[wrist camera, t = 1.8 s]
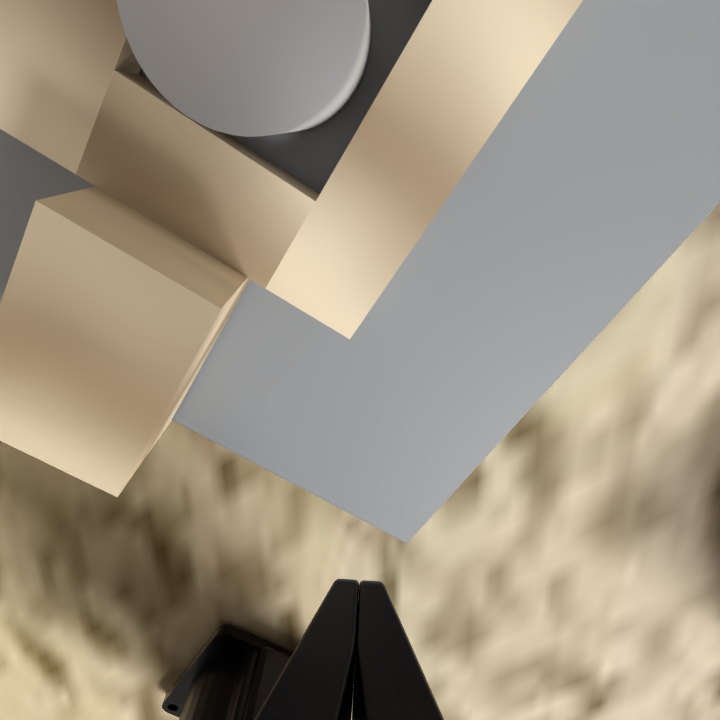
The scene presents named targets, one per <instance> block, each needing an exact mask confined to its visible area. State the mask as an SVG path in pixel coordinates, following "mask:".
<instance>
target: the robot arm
mask: <svg viewBox="0 0 720 720" xmlns="http://www.w3.org/2000/svg"><path fill="white" fill-rule="evenodd" d="M358 596H359V599H358ZM354 668H355V669H354ZM353 684H354V688H353ZM352 700H353V708H352ZM162 708H163V709H164V710H165V711H166V712H168V713H170V714H172V715H175V716H177V717H180V718H179V720H351V713H352V720H444V718H443V716H442V714H441V712H440V709H439V707H438V705H437V703H436V700H435V698H434V696H433V694H432V691H431V689H430V687H429V685H428V682H427V680H426V678H425V676H424V673H423V671H422V669H421V667H420V664H419V662H418V660H417V658H416V655H415V653H414V651H413V649H412V646H411V644H410V642H409V639H408V637H407V635H406V633H405V630H404V628H403V626H402V624H401V621H400V619H399V617H398V615H397V612H396V610H395V608H394V606H393V603H392V601H391V599H390V597H389V594H388V592H387V590H386V588H385V586H384V584H383V583H382V582H379V581H365V580H364V581H361V582H360V584H359V583H358V581H357V580H350V579H337V580H336V581H335V582H334V583H333V585H332V587H331V588H330V590H329V592H328V593H327V595H326V597H325V599H324V600H323V602H322V604H321V606H320V607H319V609H318V611H317V612H316V614H315V616H314V618H313V619H312V621H311V623H310V625H309V626H308V628H307V630H306V631H305V633H304V635H303V637H302V638H301V640H300V642H299V644H298V645H297V647H296V649H295V650H294V652H293V653H291V652H289V651H287V650H284V649H282V648H280V647H278V646H276V645H273V644H271V643H269V642H267V641H265V640H262V639H260V638H258V637H256V636H254V635H251V634H249V633H247V632H245V631H242V630H240V629H238V628H236V627H234V626H230V625H222V626H220V627H219V628H217V630H216V631H215V632H214V634H213V635H212V636H211V637H210V639H209V640H208V641H207V643H206V644H205V645H204V646H203V648H202V649H201V650H200V652H199V653H198V654H197V656H196V657H195V658H194V659H193V661H192V662H191V663H190V665H189V666H188V667H187V668H186V670H185V671H184V672H183V674H182V675H181V676H180V678H179V679H178V680H177V681H176V683H175V684H174V685H173V687H172V688H171V689H170V690H169V692H168V693H167V694H166V697H165V699H164V702H163V705H162Z"/></svg>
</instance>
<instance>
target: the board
mask: <svg viewBox="0 0 720 720" xmlns="http://www.w3.org/2000/svg"><path fill="white" fill-rule="evenodd" d="M431 2H432V0H117V5H118V10H119V15H120V18H121V22H122V25H123V29H124V32H125V35H126V37H127V39H128V42H129V44H130V47H131V49H132V51H133V53H134V55H135V57H136V59H137V61H138V63H139V64H140V66H141V69H140V72H139V75H140V76H142V77H143V78H145V79H146V80H148V81H149V82H151V83H152V84H153V85H154V86H155V87H156V88H157V90H158V91H159V92H160V93H161V94H162V95H163V96H164V97H165V98H166V99H167V100H168V101H169V102H170V103H171V104H172V105H173V106H174V107H175V108H177V109H178V110H179V111H181V112H182V113H183V114H185V115H186V116H187V117H189V118H191V119H193V120H194V121H196V122H198V123H200V124H201V125H203V126H206V127H208V128H211V129H213V130H215V131H219V132H222V133H226V134H230V135H231V136H233V137H234V138H236V139H237V140H239V141H241V142H242V143H244V144H245V145H247V146H248V147H250V148H251V149H253V150H254V151H256V152H257V153H259V154H260V155H262V156H263V157H265V158H266V159H268V160H269V161H271V162H272V163H274V164H275V165H277V166H279V167H280V168H282V169H283V170H285V171H286V172H288V173H289V174H291V175H292V176H294V177H295V178H297V179H298V180H300V181H301V182H303V183H304V184H306V185H307V186H309V187H310V188H312V189H313V190H315V191H316V192H318V193H321V192H322V190H323V188H324V186H325V185H326V183H327V181H328V179H329V178H330V176H331V174H332V173H333V171H334V169H335V167H336V166H337V164H338V162H339V160H340V159H341V157H342V155H343V154H344V152H345V150H346V148H347V147H348V145H349V143H350V141H351V140H352V138H353V136H354V135H355V133H356V131H357V129H358V128H359V126H360V124H361V122H362V121H363V119H364V117H365V116H366V114H367V112H368V110H369V109H370V107H371V105H372V103H373V102H374V100H375V98H376V97H377V95H378V93H379V91H380V90H381V88H382V86H383V84H384V83H385V81H386V79H387V78H388V76H389V74H390V72H391V71H392V69H393V67H394V66H395V64H396V62H397V60H398V59H399V57H400V55H401V53H402V52H403V50H404V48H405V47H406V45H407V43H408V41H409V40H410V38H411V36H412V34H413V33H414V31H415V29H416V28H417V26H418V24H419V22H420V21H421V19H422V17H423V15H424V14H425V12H426V10H427V9H428V7H429V5H430V3H431ZM92 187H96V186H94V185H93V184H91V183H89V182H88V181H86V180H84V179H83V178H81V177H79V176H78V175H76V174H74V173H73V172H71V171H69V170H68V169H66V168H64V167H63V166H61V165H59V164H58V163H56V162H54V161H53V160H51V159H49V158H48V157H46V156H45V155H43V154H41V153H40V152H38V151H36V150H35V149H33V148H31V147H30V146H28V145H26V144H25V143H23V142H21V141H20V140H18V139H16V138H15V137H13V136H11V135H10V134H8V133H6V132H5V131H3V130H1V129H0V303H1V300H2V297H3V294H4V291H5V288H6V285H7V282H8V280H9V277H10V274H11V271H12V268H13V265H14V262H15V259H16V256H17V253H18V250H19V248H20V245H21V242H22V239H23V236H24V233H25V230H26V227H27V224H28V221H29V219H30V216H31V213H32V210H33V207H34V204H35V201H36V200H40V199H44V198H49V197H53V196H57V195H62V194H66V193H70V192H74V191H79V190H83V189H87V188H92ZM719 203H720V0H583V1H582V2H581V4H580V5H579V7H578V8H577V10H576V11H575V13H574V14H573V16H572V17H571V18H570V20H569V21H568V23H567V24H566V26H565V27H564V29H563V30H562V32H561V33H560V35H559V36H558V37H557V39H556V40H555V42H554V43H553V45H552V46H551V48H550V49H549V51H548V52H547V53H546V55H545V56H544V58H543V59H542V61H541V62H540V64H539V65H538V67H537V68H536V69H535V71H534V72H533V74H532V75H531V77H530V78H529V80H528V81H527V83H526V84H525V85H524V87H523V88H522V90H521V91H520V93H519V94H518V96H517V97H516V99H515V100H514V101H513V103H512V104H511V106H510V107H509V109H508V110H507V112H506V113H505V115H504V116H503V117H502V119H501V120H500V122H499V123H498V125H497V126H496V128H495V129H494V131H493V132H492V133H491V135H490V136H489V138H488V139H487V141H486V142H485V144H484V145H483V147H482V148H481V149H480V151H479V152H478V154H477V155H476V157H475V158H474V160H473V161H472V163H471V164H470V165H469V167H468V168H467V170H466V171H465V173H464V174H463V176H462V177H461V179H460V180H459V181H458V183H457V184H456V186H455V187H454V189H453V190H452V192H451V193H450V195H449V196H448V197H447V199H446V200H445V202H444V203H443V205H442V206H441V208H440V209H439V211H438V212H437V213H436V215H435V216H434V218H433V219H432V221H431V222H430V224H429V225H428V227H427V228H426V229H425V231H424V232H423V234H422V235H421V237H420V238H419V240H418V241H417V243H416V244H415V245H414V247H413V248H412V250H411V251H410V253H409V254H408V256H407V257H406V259H405V260H404V261H403V263H402V264H401V266H400V267H399V269H398V270H397V272H396V273H395V275H394V276H393V277H392V279H391V280H390V282H389V283H388V285H387V286H386V288H385V289H384V291H383V292H382V293H381V295H380V296H379V298H378V299H377V301H376V302H375V304H374V305H373V307H372V308H371V309H370V311H369V312H368V314H367V315H366V317H365V318H364V320H363V321H362V323H361V324H360V325H359V327H358V328H357V330H356V331H355V333H354V334H353V336H352V337H351V339H348V338H347V337H345V336H343V335H342V334H340V333H338V332H337V331H335V330H333V329H332V328H330V327H328V326H327V325H325V324H323V323H322V322H320V321H318V320H317V319H315V318H313V317H312V316H310V315H308V314H307V313H305V312H303V311H302V310H300V309H298V308H297V307H295V306H293V305H292V304H290V303H288V302H287V301H285V300H284V299H282V298H280V297H279V296H277V295H275V294H274V293H272V292H270V291H269V290H267V289H265V288H264V287H262V286H260V285H259V284H257V283H255V282H254V281H252V280H250V281H249V283H248V285H247V287H246V288H245V290H244V292H243V294H242V295H241V297H240V299H239V301H238V303H237V304H236V306H235V308H234V310H233V312H232V313H231V315H230V317H229V319H228V320H227V322H226V324H225V326H224V328H223V329H222V331H221V333H220V335H219V336H218V338H217V340H216V342H215V344H214V345H213V347H212V349H211V351H210V352H209V354H208V356H207V358H206V360H205V361H204V363H203V365H202V367H201V369H200V370H199V372H198V374H197V376H196V377H195V379H194V381H193V383H192V385H191V386H190V388H189V390H188V392H187V393H186V395H185V397H184V399H183V401H182V402H181V404H180V406H179V408H178V409H177V411H176V413H175V415H174V417H173V418H172V420H173V421H175V422H177V423H179V424H181V425H183V426H184V427H186V428H188V429H190V430H192V431H194V432H196V433H198V434H200V435H202V436H203V437H205V438H207V439H209V440H211V441H213V442H215V443H217V444H219V445H221V446H222V447H224V448H226V449H228V450H230V451H232V452H234V453H236V454H238V455H240V456H242V457H243V458H245V459H247V460H249V461H251V462H253V463H255V464H257V465H259V466H261V467H262V468H264V469H266V470H268V471H270V472H272V473H274V474H276V475H278V476H280V477H281V478H283V479H285V480H287V481H289V482H291V483H293V484H295V485H297V486H299V487H300V488H302V489H304V490H306V491H308V492H310V493H312V494H314V495H316V496H318V497H320V498H321V499H323V500H325V501H327V502H329V503H331V504H333V505H335V506H337V507H339V508H340V509H342V510H344V511H346V512H348V513H350V514H352V515H354V516H356V517H358V518H359V519H361V520H363V521H365V522H367V523H369V524H371V525H373V526H375V527H377V528H379V529H380V530H382V531H384V532H386V533H388V534H390V535H392V536H394V537H396V538H398V539H399V540H401V541H403V542H405V543H407V542H408V541H409V540H410V539H411V538H412V537H413V536H414V535H415V534H416V533H417V531H418V530H419V529H420V528H421V527H422V526H423V525H424V524H425V523H426V522H427V521H428V519H429V518H430V517H431V516H432V515H433V514H434V513H435V512H436V511H437V510H438V509H439V508H440V506H441V505H442V504H443V503H444V502H445V501H446V500H447V499H448V498H449V497H450V496H451V494H452V493H453V492H454V491H455V490H456V489H457V488H458V487H459V486H460V485H461V484H462V482H463V481H464V480H465V479H466V478H467V477H468V476H469V475H470V474H471V473H472V472H473V470H474V469H475V468H476V467H477V466H478V465H479V464H480V463H481V462H482V461H483V460H484V459H485V457H486V456H487V455H488V454H489V453H490V452H491V451H492V450H493V449H494V448H495V447H496V445H497V444H498V443H499V442H500V441H501V440H502V439H503V438H504V437H505V436H506V435H507V433H508V432H509V431H510V430H511V429H512V428H513V427H514V426H515V425H516V424H517V423H518V421H519V420H520V419H521V418H522V417H523V416H524V415H525V414H526V413H527V412H528V411H529V410H530V408H531V407H532V406H533V405H534V404H535V403H536V402H537V401H538V400H539V399H540V398H541V396H542V395H543V394H544V393H545V392H546V391H547V390H548V389H549V388H550V387H551V386H552V384H553V383H554V382H555V381H556V380H557V379H558V378H559V377H560V376H561V375H562V374H563V372H564V371H565V370H566V369H567V368H568V367H569V366H570V365H571V364H572V363H573V362H574V361H575V359H576V358H577V357H578V356H579V355H580V354H581V353H582V352H583V351H584V350H585V349H586V347H587V346H588V345H589V344H590V343H591V342H592V341H593V340H594V339H595V338H596V337H597V335H598V334H599V333H600V332H601V331H602V330H603V329H604V328H605V327H606V326H607V325H608V323H609V322H610V321H611V320H612V319H613V318H614V317H615V316H616V315H617V314H618V313H619V312H620V310H621V309H622V308H623V307H624V306H625V305H626V304H627V303H628V302H629V301H630V300H631V298H632V297H633V296H634V295H635V294H636V293H637V292H638V291H639V290H640V289H641V288H642V286H643V285H644V284H645V283H646V282H647V281H648V280H649V279H650V278H651V277H652V276H653V274H654V273H655V272H656V271H657V270H658V269H659V268H660V267H661V266H662V265H663V264H664V263H665V261H666V260H667V259H668V258H669V257H670V256H671V255H672V254H673V253H674V252H675V251H676V249H677V248H678V247H679V246H680V245H681V244H682V243H683V242H684V241H685V240H686V239H687V237H688V236H689V235H690V234H691V233H692V232H693V231H694V230H695V229H696V228H697V227H698V225H699V224H700V223H701V222H702V221H703V220H704V219H705V218H706V217H707V216H708V215H709V214H710V212H711V211H712V210H713V209H714V208H715V207H716V206H717V205H718V204H719Z"/></svg>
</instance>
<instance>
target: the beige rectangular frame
mask: <svg viewBox="0 0 720 720" xmlns="http://www.w3.org/2000/svg"><path fill="white" fill-rule="evenodd" d="M582 1H583V0H432V2H431V3H430V5H429V7H428V9H427V10H426V12H425V14H424V15H423V17H422V19H421V21H420V22H419V24H418V26H417V28H416V29H415V31H414V33H413V34H412V36H411V38H410V40H409V41H408V43H407V45H406V47H405V48H404V50H403V52H402V53H401V55H400V57H399V59H398V60H397V62H396V64H395V66H394V67H393V69H392V71H391V72H390V74H389V76H388V78H387V79H386V81H385V83H384V84H383V86H382V88H381V90H380V91H379V93H378V95H377V97H376V98H375V100H374V102H373V103H372V105H371V107H370V109H369V110H368V112H367V114H366V116H365V117H364V119H363V121H362V122H361V124H360V126H359V128H358V129H357V131H356V133H355V135H354V136H353V138H352V140H351V141H350V143H349V145H348V147H347V148H346V150H345V152H344V154H343V155H342V157H341V159H340V160H339V162H338V164H337V166H336V167H335V169H334V171H333V173H332V174H331V176H330V178H329V179H328V181H327V183H326V185H325V186H324V188H323V190H322V192H321V193H318V192H316V191H315V190H313V189H312V188H310V187H309V186H307V185H306V184H304V183H303V182H301V181H300V180H298V179H297V178H295V177H294V176H292V175H291V174H289V173H288V172H286V171H285V170H283V169H282V168H280V167H279V166H277V165H275V164H274V163H272V162H271V161H269V160H268V159H266V158H265V157H263V156H262V155H260V154H259V153H257V152H256V151H254V150H253V149H251V148H250V147H248V146H247V145H245V144H244V143H242V142H241V141H239V140H237V139H236V138H234V137H233V136H231V135H230V134H226V133H222V132H219V131H215V130H213V129H211V128H208V127H206V126H203V125H201V124H200V123H198V122H196V121H194V120H193V119H191V118H189V117H187V116H186V115H185V114H183V113H182V112H181V111H179V110H178V109H177V108H175V107H174V106H173V105H172V104H171V103H170V102H169V101H168V100H167V99H166V98H165V97H164V96H163V95H162V94H161V93H160V92H159V91H158V90H157V88H156V87H155V86H154V85H153V84H152V83H151V82H149V81H148V80H146V79H145V78H143V77H142V76H140V75H139V72H140V69H141V66H140V64H139V63H138V61H137V59H136V57H135V55H134V53H133V51H132V49H131V47H130V44H129V42H128V39H127V37H126V35H125V32H124V29H123V25H122V22H121V18H120V15H119V10H118V5H117V0H0V129H1V130H3V131H5V132H6V133H8V134H10V135H11V136H13V137H15V138H16V139H18V140H20V141H21V142H23V143H25V144H26V145H28V146H30V147H31V148H33V149H35V150H36V151H38V152H40V153H41V154H43V155H45V156H46V157H48V158H49V159H51V160H53V161H54V162H56V163H58V164H59V165H61V166H63V167H64V168H66V169H68V170H69V171H71V172H73V173H74V174H76V175H78V176H79V177H81V178H83V179H84V180H86V181H88V182H89V183H91V184H93V185H94V186H96V187H92V188H87V189H83V190H79V191H74V192H70V193H66V194H62V195H57V196H53V197H49V198H44V199H40V200H36V201H35V204H34V207H33V210H32V213H31V216H30V219H29V221H28V224H27V227H26V230H25V233H24V236H23V239H22V242H21V245H20V248H19V250H18V253H17V256H16V259H15V262H14V265H13V268H12V271H11V274H10V277H9V280H8V282H7V285H6V288H5V291H4V294H3V297H2V300H1V303H0V441H2V442H4V443H6V444H8V445H10V446H12V447H14V448H16V449H18V450H20V451H22V452H24V453H26V454H29V455H31V456H33V457H35V458H37V459H39V460H41V461H43V462H45V463H47V464H49V465H51V466H53V467H55V468H58V469H60V470H62V471H64V472H66V473H68V474H70V475H72V476H74V477H76V478H78V479H80V480H82V481H84V482H87V483H89V484H91V485H93V486H95V487H97V488H99V489H101V490H103V491H105V492H107V493H109V494H111V495H113V496H116V497H118V496H119V494H120V493H121V492H122V490H123V489H124V487H125V486H126V484H127V483H128V482H129V480H130V479H131V477H132V476H133V475H134V473H135V472H136V470H137V469H138V467H139V466H140V465H141V463H142V462H143V460H144V459H145V458H146V456H147V455H148V453H149V452H150V451H151V449H152V448H153V446H154V445H155V443H156V442H157V441H158V439H159V438H160V436H161V435H162V434H163V432H164V431H165V429H166V428H167V426H168V425H169V424H170V422H171V420H172V418H173V417H174V415H175V413H176V411H177V409H178V408H179V406H180V404H181V402H182V401H183V399H184V397H185V395H186V393H187V392H188V390H189V388H190V386H191V385H192V383H193V381H194V379H195V377H196V376H197V374H198V372H199V370H200V369H201V367H202V365H203V363H204V361H205V360H206V358H207V356H208V354H209V352H210V351H211V349H212V347H213V345H214V344H215V342H216V340H217V338H218V336H219V335H220V333H221V331H222V329H223V328H224V326H225V324H226V322H227V320H228V319H229V317H230V315H231V313H232V312H233V310H234V308H235V306H236V304H237V303H238V301H239V299H240V297H241V295H242V294H243V292H244V290H245V288H246V287H247V285H248V283H249V281H250V280H252V281H254V282H255V283H257V284H259V285H260V286H262V287H264V288H265V289H267V290H269V291H270V292H272V293H274V294H275V295H277V296H279V297H280V298H282V299H284V300H285V301H287V302H288V303H290V304H292V305H293V306H295V307H297V308H298V309H300V310H302V311H303V312H305V313H307V314H308V315H310V316H312V317H313V318H315V319H317V320H318V321H320V322H322V323H323V324H325V325H327V326H328V327H330V328H332V329H333V330H335V331H337V332H338V333H340V334H342V335H343V336H345V337H347V338H348V339H351V337H352V336H353V334H354V333H355V331H356V330H357V328H358V327H359V325H360V324H361V323H362V321H363V320H364V318H365V317H366V315H367V314H368V312H369V311H370V309H371V308H372V307H373V305H374V304H375V302H376V301H377V299H378V298H379V296H380V295H381V293H382V292H383V291H384V289H385V288H386V286H387V285H388V283H389V282H390V280H391V279H392V277H393V276H394V275H395V273H396V272H397V270H398V269H399V267H400V266H401V264H402V263H403V261H404V260H405V259H406V257H407V256H408V254H409V253H410V251H411V250H412V248H413V247H414V245H415V244H416V243H417V241H418V240H419V238H420V237H421V235H422V234H423V232H424V231H425V229H426V228H427V227H428V225H429V224H430V222H431V221H432V219H433V218H434V216H435V215H436V213H437V212H438V211H439V209H440V208H441V206H442V205H443V203H444V202H445V200H446V199H447V197H448V196H449V195H450V193H451V192H452V190H453V189H454V187H455V186H456V184H457V183H458V181H459V180H460V179H461V177H462V176H463V174H464V173H465V171H466V170H467V168H468V167H469V165H470V164H471V163H472V161H473V160H474V158H475V157H476V155H477V154H478V152H479V151H480V149H481V148H482V147H483V145H484V144H485V142H486V141H487V139H488V138H489V136H490V135H491V133H492V132H493V131H494V129H495V128H496V126H497V125H498V123H499V122H500V120H501V119H502V117H503V116H504V115H505V113H506V112H507V110H508V109H509V107H510V106H511V104H512V103H513V101H514V100H515V99H516V97H517V96H518V94H519V93H520V91H521V90H522V88H523V87H524V85H525V84H526V83H527V81H528V80H529V78H530V77H531V75H532V74H533V72H534V71H535V69H536V68H537V67H538V65H539V64H540V62H541V61H542V59H543V58H544V56H545V55H546V53H547V52H548V51H549V49H550V48H551V46H552V45H553V43H554V42H555V40H556V39H557V37H558V36H559V35H560V33H561V32H562V30H563V29H564V27H565V26H566V24H567V23H568V21H569V20H570V18H571V17H572V16H573V14H574V13H575V11H576V10H577V8H578V7H579V5H580V4H581V2H582Z"/></svg>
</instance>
